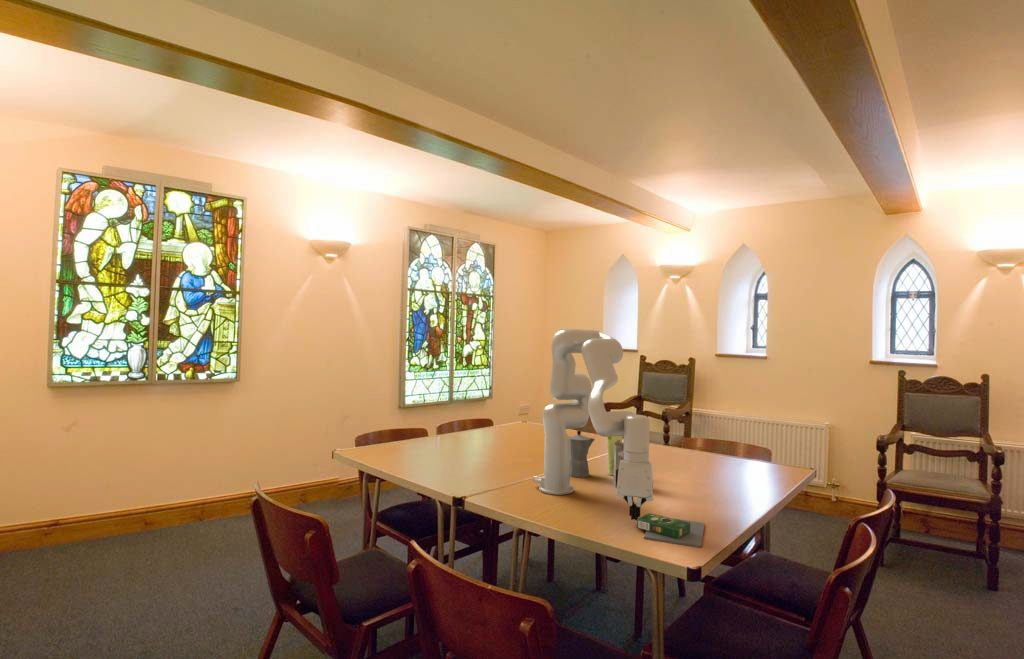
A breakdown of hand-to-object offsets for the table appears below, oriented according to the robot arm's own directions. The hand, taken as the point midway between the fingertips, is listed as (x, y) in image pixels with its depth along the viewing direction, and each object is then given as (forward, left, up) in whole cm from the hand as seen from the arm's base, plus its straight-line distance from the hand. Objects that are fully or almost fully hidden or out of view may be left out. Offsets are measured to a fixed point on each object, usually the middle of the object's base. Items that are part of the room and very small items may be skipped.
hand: (634, 518), depth 162 cm
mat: (+12, 0, -2) cm, 12 cm away
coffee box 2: (+2, 0, 0) cm, 2 cm away
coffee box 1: (-10, +44, -2) cm, 45 cm away
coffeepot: (-32, +52, -2) cm, 61 cm away
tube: (-18, +60, -2) cm, 63 cm away
